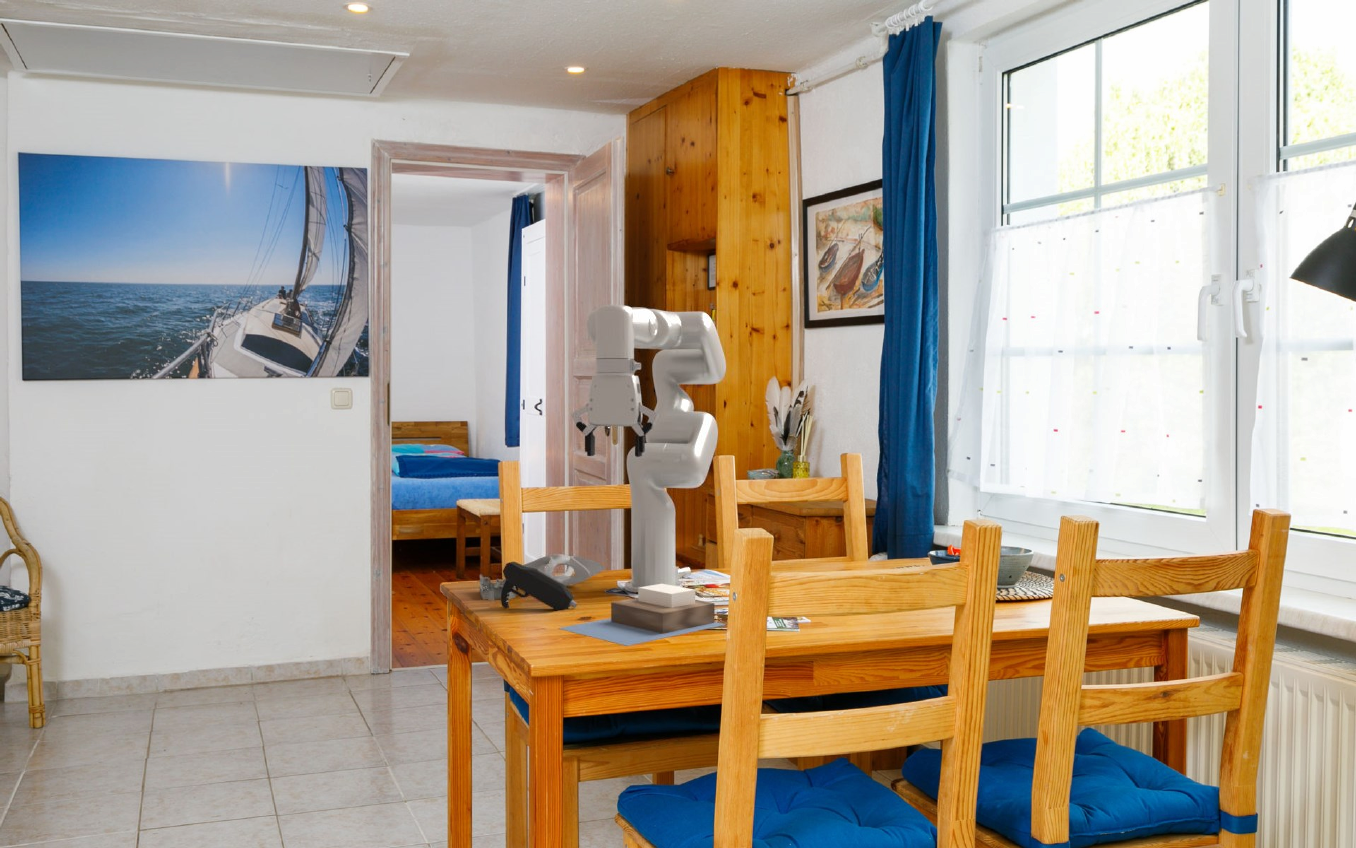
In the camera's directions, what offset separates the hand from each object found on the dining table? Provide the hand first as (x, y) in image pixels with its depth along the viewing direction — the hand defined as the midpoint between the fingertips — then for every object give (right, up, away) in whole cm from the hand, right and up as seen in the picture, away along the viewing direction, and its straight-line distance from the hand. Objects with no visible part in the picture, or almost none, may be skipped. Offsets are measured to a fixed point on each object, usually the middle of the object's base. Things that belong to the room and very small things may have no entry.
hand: (614, 456), depth 219 cm
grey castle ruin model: (-26, -30, +17) cm, 43 cm away
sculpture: (-14, -30, +30) cm, 45 cm away
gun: (-15, -31, +2) cm, 34 cm away
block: (+10, -30, -13) cm, 34 cm away
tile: (+10, -27, -12) cm, 31 cm away
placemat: (+6, -31, -16) cm, 35 cm away
